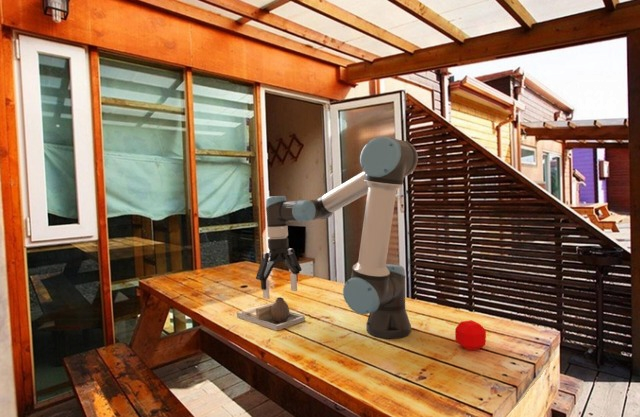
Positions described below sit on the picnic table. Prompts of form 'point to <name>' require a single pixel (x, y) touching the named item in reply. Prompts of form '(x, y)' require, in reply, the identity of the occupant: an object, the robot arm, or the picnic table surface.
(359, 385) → the picnic table surface
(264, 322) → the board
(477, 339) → the ball
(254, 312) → the cover
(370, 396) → the picnic table surface
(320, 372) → the picnic table surface
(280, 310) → the vase
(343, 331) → the picnic table surface
